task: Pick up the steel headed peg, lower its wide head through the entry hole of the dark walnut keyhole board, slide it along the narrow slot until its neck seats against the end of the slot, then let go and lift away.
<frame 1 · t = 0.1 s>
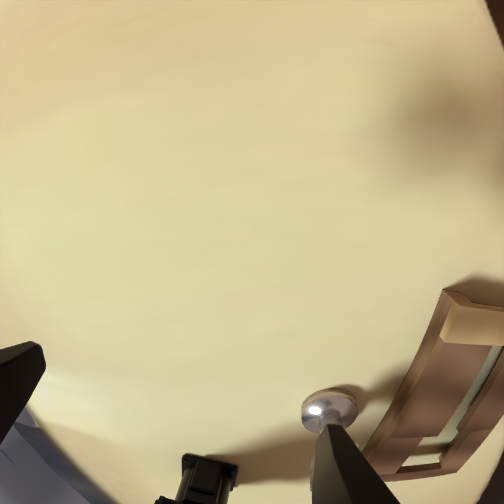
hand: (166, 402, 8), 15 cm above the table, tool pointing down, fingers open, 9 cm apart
keyhole board: (452, 396, 24), on the table
headed peg: (328, 407, 25), on the table
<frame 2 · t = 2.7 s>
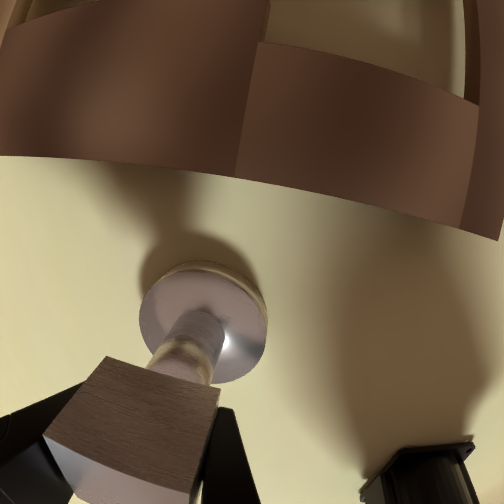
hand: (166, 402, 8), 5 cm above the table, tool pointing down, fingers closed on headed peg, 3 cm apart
headed peg: (206, 318, 13), on the table, touching gripper
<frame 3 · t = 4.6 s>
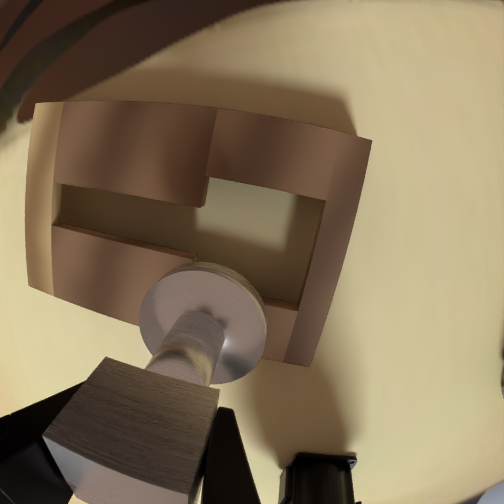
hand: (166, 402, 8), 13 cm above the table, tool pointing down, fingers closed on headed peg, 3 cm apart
keyhole board: (169, 216, 20), on the table
headed peg: (206, 319, 13), point 8 cm above the table, touching gripper
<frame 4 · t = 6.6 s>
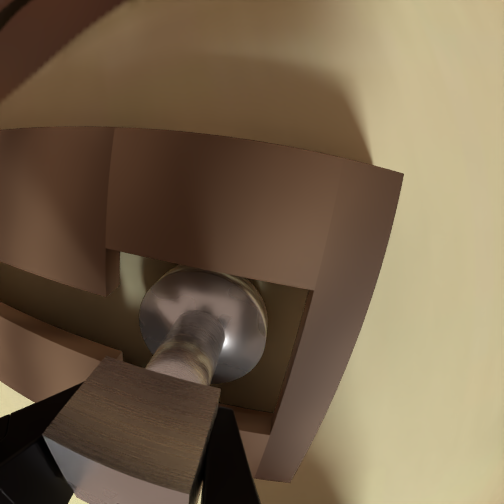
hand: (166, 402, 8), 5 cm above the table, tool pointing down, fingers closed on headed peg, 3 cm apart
keyhole board: (90, 285, 13), on the table
headed peg: (206, 318, 13), on the table, touching gripper
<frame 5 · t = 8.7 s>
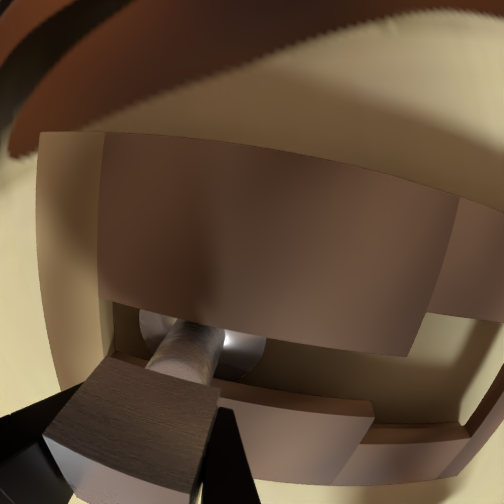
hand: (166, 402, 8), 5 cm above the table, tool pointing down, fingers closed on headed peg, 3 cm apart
keyhole board: (314, 337, 13), on the table
headed peg: (206, 318, 13), on the table, touching gripper
when the fingers open (5 cm above the table, at t = 10.3 s): headed peg stays where it is, on the table.
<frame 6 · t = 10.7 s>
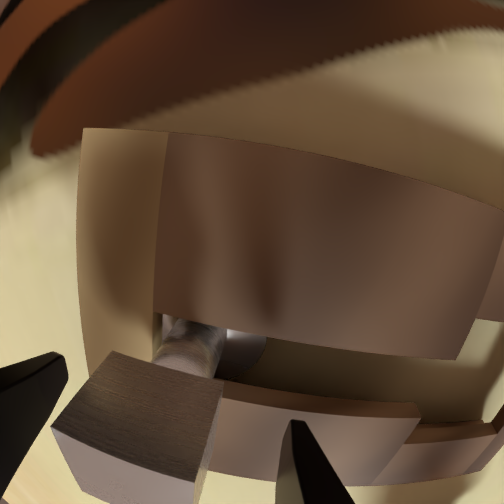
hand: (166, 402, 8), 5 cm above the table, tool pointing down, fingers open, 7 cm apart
keyhole board: (362, 344, 12), on the table
headed peg: (208, 315, 13), on the table
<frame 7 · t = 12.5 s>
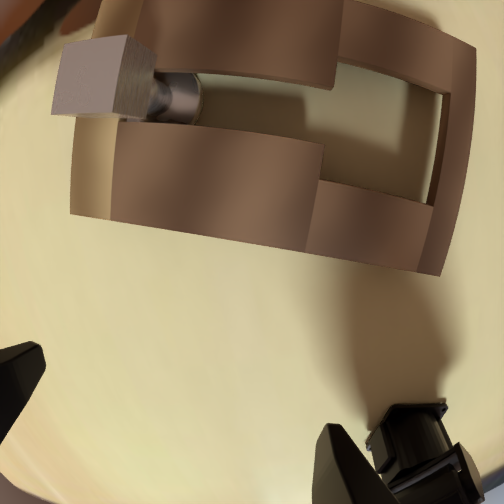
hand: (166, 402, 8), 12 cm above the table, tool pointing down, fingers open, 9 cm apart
keyhole board: (274, 112, 16), on the table
headed peg: (163, 102, 17), on the table
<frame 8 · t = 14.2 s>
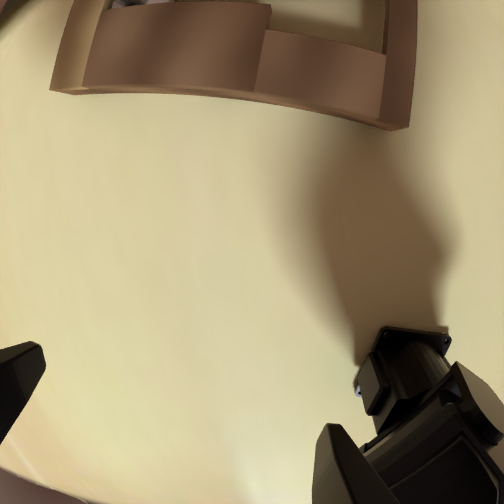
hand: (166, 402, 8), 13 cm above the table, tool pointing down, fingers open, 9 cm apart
keyhole board: (234, 3, 15), on the table
headed peg: (143, 6, 16), on the table
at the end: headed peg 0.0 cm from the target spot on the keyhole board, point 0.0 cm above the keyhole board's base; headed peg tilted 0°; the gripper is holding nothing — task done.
